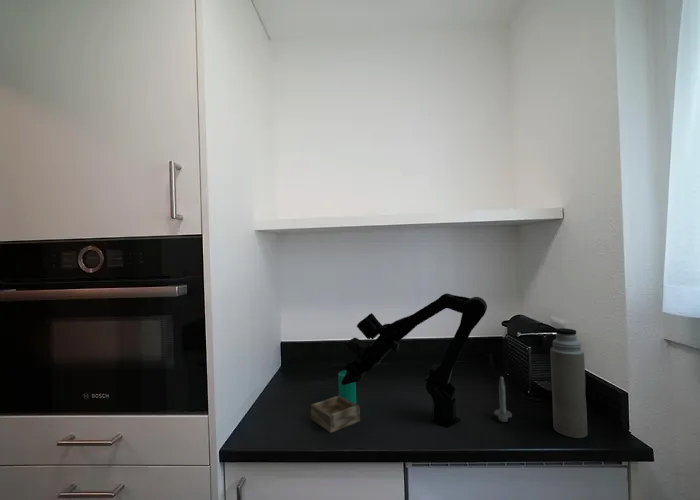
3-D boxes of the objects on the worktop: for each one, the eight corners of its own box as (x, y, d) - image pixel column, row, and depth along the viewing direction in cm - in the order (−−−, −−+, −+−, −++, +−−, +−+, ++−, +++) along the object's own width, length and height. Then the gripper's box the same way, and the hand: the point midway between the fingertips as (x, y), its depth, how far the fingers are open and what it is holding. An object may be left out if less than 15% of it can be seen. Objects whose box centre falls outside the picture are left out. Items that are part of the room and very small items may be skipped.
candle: (346, 398, 122) (345, 364, 123) (360, 402, 119) (359, 367, 119) (335, 404, 118) (334, 369, 118) (348, 409, 114) (347, 372, 114)
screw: (503, 425, 100) (490, 418, 105) (515, 421, 102) (502, 415, 107) (502, 380, 100) (489, 375, 105) (514, 377, 102) (501, 372, 107)
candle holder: (339, 409, 114) (339, 395, 114) (360, 420, 106) (359, 406, 106) (311, 419, 108) (310, 404, 108) (330, 432, 99) (330, 416, 99)
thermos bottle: (579, 424, 100) (574, 326, 100) (593, 438, 92) (588, 332, 92) (549, 422, 101) (545, 326, 101) (560, 437, 93) (556, 332, 94)
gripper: (371, 325, 125) (345, 353, 129) (349, 337, 108) (319, 368, 112) (393, 349, 121) (365, 377, 126) (373, 365, 104) (341, 397, 109)
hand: (348, 379), depth 118 cm, fingers open, 9 cm apart
